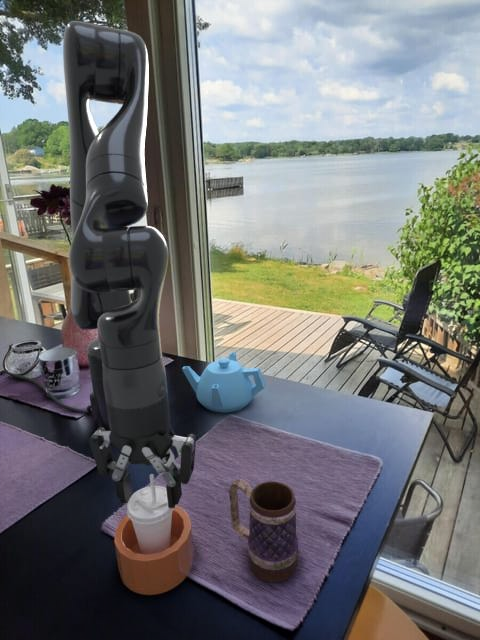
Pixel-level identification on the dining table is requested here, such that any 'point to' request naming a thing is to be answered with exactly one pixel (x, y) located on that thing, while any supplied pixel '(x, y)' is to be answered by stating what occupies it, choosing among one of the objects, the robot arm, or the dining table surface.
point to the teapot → (225, 384)
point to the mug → (268, 528)
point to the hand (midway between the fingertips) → (149, 501)
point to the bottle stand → (155, 557)
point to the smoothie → (151, 518)
